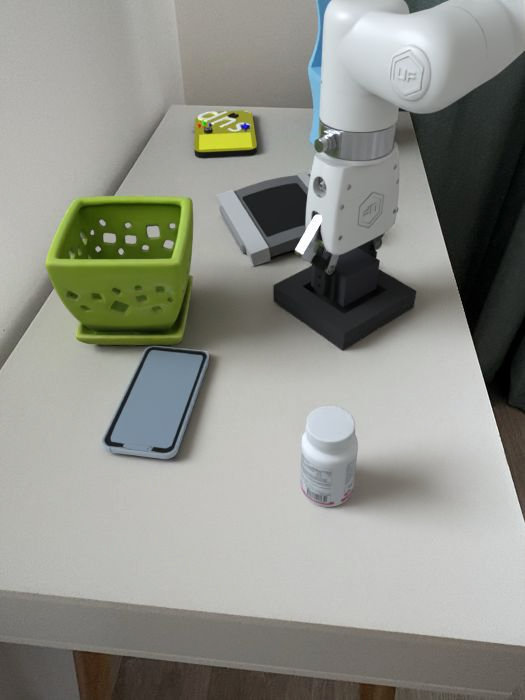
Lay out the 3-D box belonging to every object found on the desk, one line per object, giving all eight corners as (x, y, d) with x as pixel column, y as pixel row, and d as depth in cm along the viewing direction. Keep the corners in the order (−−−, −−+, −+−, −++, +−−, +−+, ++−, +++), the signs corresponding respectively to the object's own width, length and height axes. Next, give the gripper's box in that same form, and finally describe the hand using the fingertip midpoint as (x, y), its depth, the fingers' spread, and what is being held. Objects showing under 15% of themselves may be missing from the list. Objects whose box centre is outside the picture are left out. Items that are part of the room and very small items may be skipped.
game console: (259, 155, 108) (259, 146, 107) (194, 159, 107) (194, 150, 106) (251, 115, 121) (251, 107, 120) (193, 118, 121) (193, 110, 120)
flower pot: (68, 359, 70) (38, 263, 61) (94, 285, 80) (72, 194, 72) (194, 358, 69) (181, 261, 61) (204, 284, 80) (194, 193, 71)
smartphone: (211, 351, 69) (174, 455, 58) (211, 357, 70) (175, 462, 58) (146, 344, 70) (97, 446, 59) (147, 351, 71) (99, 453, 59)
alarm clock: (365, 222, 84) (248, 235, 79) (359, 252, 87) (247, 267, 82) (316, 168, 96) (213, 177, 92) (313, 196, 99) (213, 206, 95)
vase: (306, 137, 113) (310, -21, 96) (356, 130, 115) (369, -27, 98) (326, 160, 106) (335, -7, 89) (380, 151, 108) (398, -13, 91)
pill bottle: (338, 458, 59) (344, 395, 53) (362, 498, 55) (371, 435, 50) (291, 474, 57) (292, 411, 52) (313, 515, 54) (316, 453, 48)
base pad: (342, 265, 82) (344, 248, 81) (414, 307, 75) (417, 290, 74) (273, 301, 77) (272, 284, 75) (342, 351, 70) (344, 333, 68)
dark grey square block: (343, 268, 77) (345, 240, 75) (376, 288, 74) (380, 260, 71) (310, 286, 75) (311, 257, 72) (343, 307, 72) (345, 278, 69)
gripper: (319, 175, 56) (312, 331, 68) (442, 124, 64) (416, 271, 76) (265, 148, 60) (268, 299, 72) (386, 103, 68) (370, 246, 80)
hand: (344, 283), depth 74 cm, fingers closed on dark grey square block, 5 cm apart
